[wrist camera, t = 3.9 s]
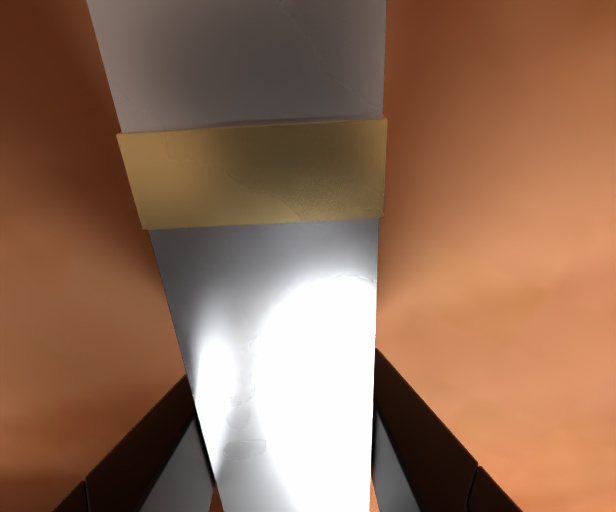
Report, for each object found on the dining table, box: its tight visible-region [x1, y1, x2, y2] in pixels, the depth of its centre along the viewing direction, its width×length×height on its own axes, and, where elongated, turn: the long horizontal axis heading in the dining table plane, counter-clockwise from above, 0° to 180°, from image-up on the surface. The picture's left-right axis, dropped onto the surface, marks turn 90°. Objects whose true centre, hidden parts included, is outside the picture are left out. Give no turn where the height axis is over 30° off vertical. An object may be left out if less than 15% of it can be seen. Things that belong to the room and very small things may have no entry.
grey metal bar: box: [86, 0, 388, 512], centre depth 9 cm, size 22×3×3 cm, turn 3°
